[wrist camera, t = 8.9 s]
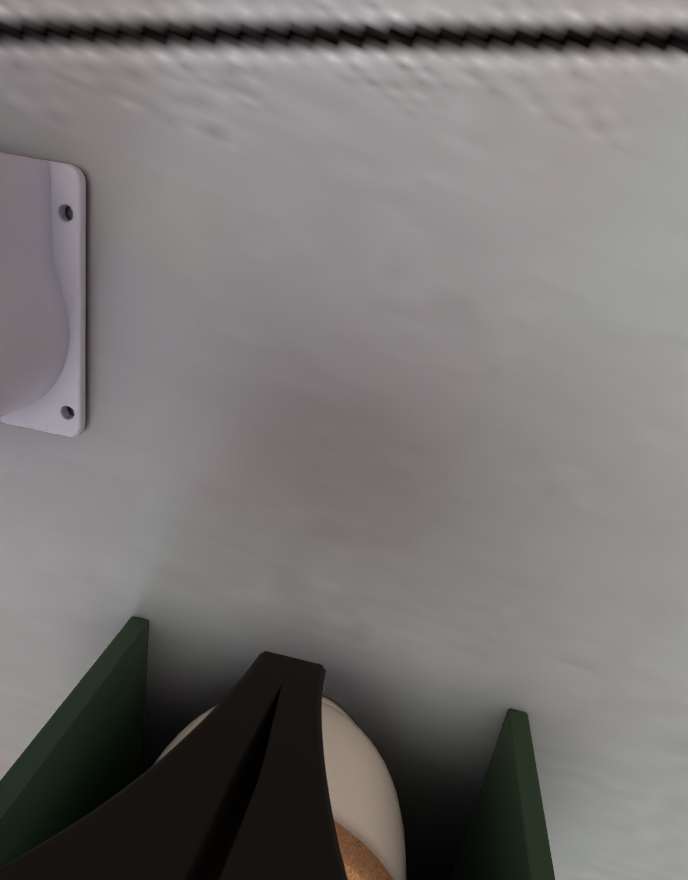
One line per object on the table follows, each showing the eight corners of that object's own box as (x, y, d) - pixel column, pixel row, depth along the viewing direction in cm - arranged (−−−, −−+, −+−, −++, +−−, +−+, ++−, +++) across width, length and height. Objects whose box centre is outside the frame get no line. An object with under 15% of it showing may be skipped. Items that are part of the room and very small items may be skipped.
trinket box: (469, 765, 26) (480, 1047, 17) (299, 861, 29) (236, 1131, 21) (292, 597, 24) (204, 809, 15) (136, 719, 28) (-5, 946, 19)
